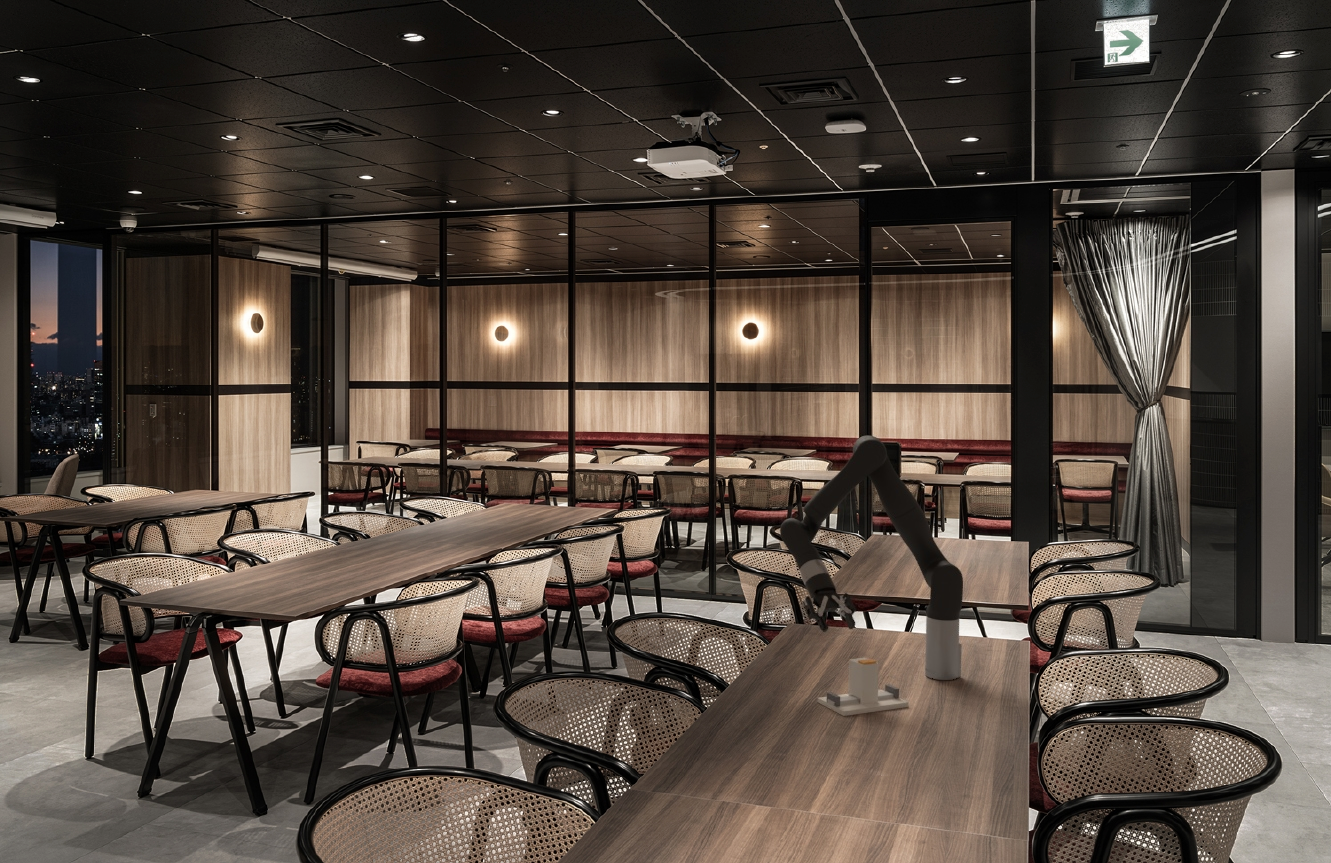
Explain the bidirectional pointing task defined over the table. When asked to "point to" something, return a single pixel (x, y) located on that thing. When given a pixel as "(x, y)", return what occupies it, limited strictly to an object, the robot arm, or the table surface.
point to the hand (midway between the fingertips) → (839, 629)
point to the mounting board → (852, 704)
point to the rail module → (863, 680)
